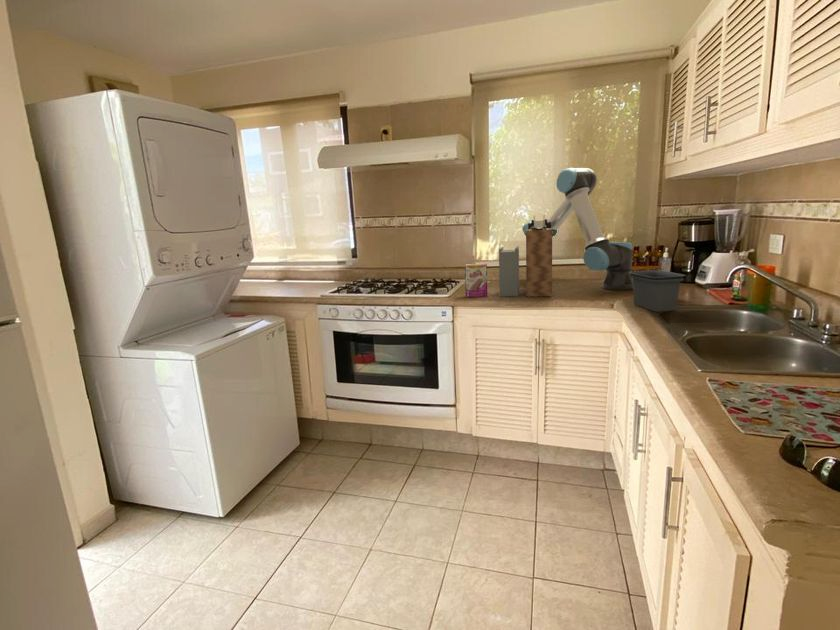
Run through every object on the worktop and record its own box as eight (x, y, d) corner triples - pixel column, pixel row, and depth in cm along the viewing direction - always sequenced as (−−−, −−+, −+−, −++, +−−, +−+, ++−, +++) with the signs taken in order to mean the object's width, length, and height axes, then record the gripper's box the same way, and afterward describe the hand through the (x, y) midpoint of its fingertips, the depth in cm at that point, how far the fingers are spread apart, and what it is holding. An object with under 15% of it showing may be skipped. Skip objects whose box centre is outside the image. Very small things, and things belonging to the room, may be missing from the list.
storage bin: (624, 304, 196) (625, 270, 193) (658, 301, 197) (660, 268, 194) (653, 314, 175) (655, 277, 172) (691, 311, 176) (694, 274, 173)
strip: (543, 225, 234) (543, 219, 233) (543, 227, 213) (543, 220, 213) (535, 225, 235) (535, 219, 234) (534, 227, 214) (534, 221, 214)
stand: (551, 292, 232) (552, 225, 224) (551, 296, 220) (552, 226, 213) (527, 292, 235) (526, 226, 227) (526, 296, 224) (525, 227, 216)
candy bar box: (465, 297, 231) (464, 265, 227) (465, 295, 236) (464, 264, 232) (488, 296, 230) (487, 264, 226) (487, 295, 235) (486, 263, 231)
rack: (519, 291, 239) (518, 246, 234) (517, 295, 227) (517, 248, 222) (501, 291, 241) (501, 247, 236) (499, 296, 230) (498, 249, 225)
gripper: (556, 244, 245) (557, 223, 223) (523, 245, 249) (521, 225, 228) (556, 231, 247) (557, 209, 225) (523, 233, 251) (521, 211, 230)
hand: (539, 217), depth 226 cm, fingers closed on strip, 4 cm apart
